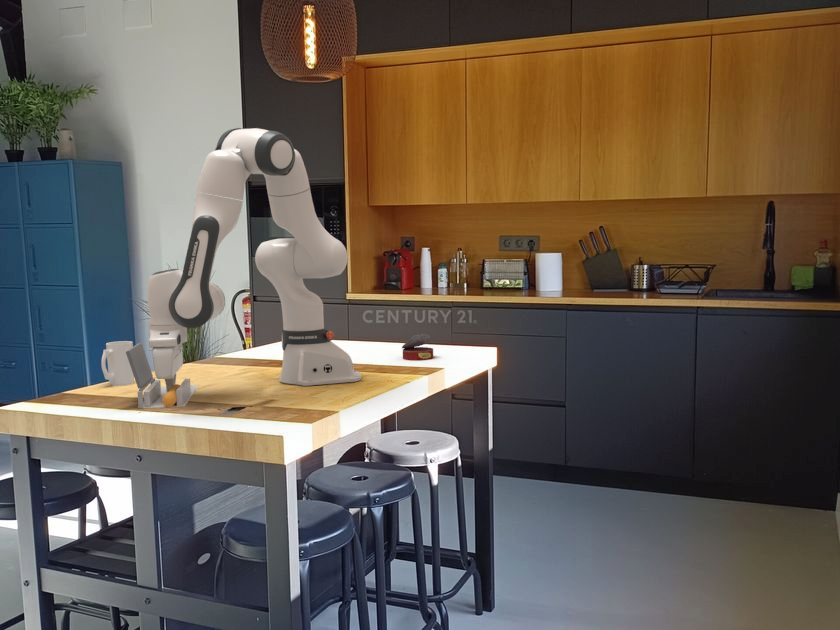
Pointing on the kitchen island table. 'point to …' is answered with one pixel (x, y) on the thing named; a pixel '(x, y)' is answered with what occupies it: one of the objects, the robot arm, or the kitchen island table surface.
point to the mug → (117, 363)
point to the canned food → (417, 348)
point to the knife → (233, 410)
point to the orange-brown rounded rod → (170, 396)
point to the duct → (156, 394)
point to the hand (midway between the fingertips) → (171, 391)
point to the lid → (140, 366)
